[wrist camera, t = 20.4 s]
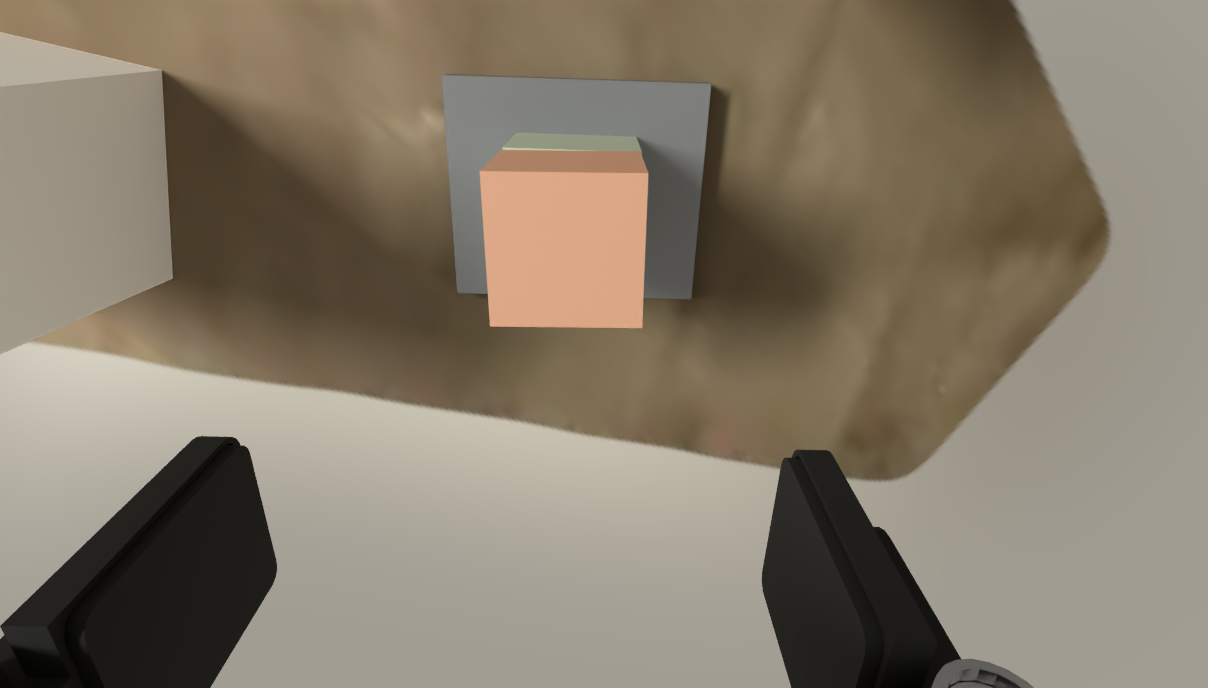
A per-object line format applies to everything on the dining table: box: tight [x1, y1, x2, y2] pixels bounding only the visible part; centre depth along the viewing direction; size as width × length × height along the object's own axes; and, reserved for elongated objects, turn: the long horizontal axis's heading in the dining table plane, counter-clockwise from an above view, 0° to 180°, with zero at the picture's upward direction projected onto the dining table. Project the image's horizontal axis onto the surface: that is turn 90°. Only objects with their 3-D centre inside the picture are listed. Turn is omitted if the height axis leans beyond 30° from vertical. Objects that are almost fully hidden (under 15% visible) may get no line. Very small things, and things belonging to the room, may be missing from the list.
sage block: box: [502, 133, 642, 155], centre depth 33 cm, size 6×6×6 cm
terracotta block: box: [480, 150, 648, 328], centre depth 28 cm, size 6×6×6 cm
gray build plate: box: [442, 74, 711, 299], centre depth 36 cm, size 12×14×1 cm
